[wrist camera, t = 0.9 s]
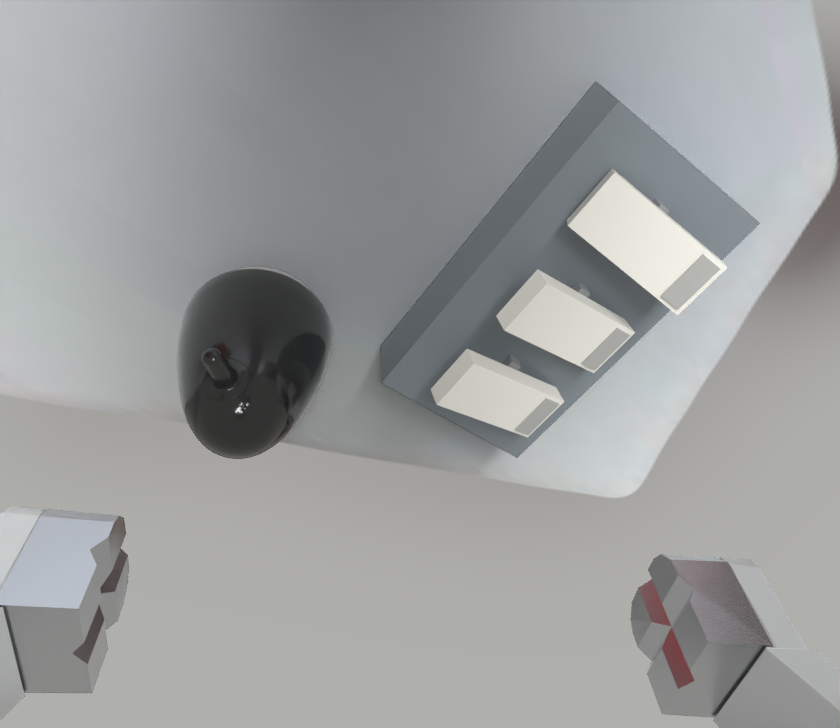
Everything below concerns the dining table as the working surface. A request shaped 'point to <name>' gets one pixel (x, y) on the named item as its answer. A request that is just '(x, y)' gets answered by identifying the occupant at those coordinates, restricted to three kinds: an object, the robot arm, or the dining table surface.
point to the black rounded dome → (250, 359)
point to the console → (553, 260)
